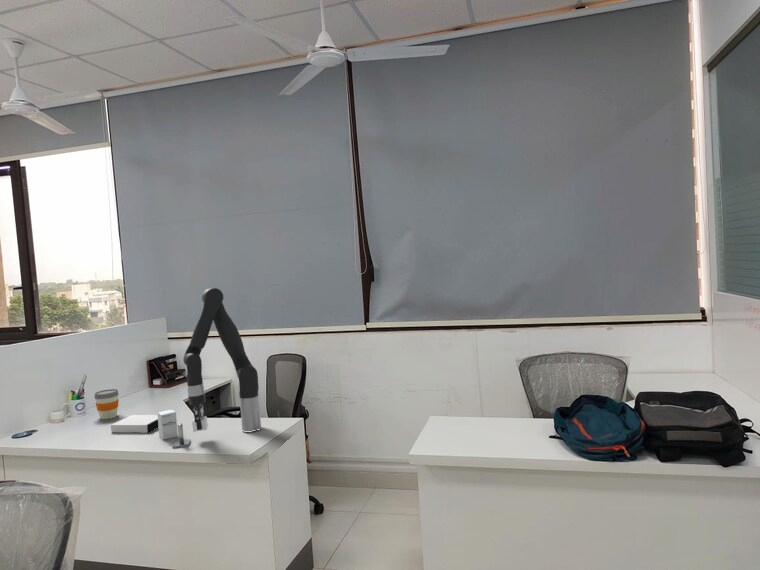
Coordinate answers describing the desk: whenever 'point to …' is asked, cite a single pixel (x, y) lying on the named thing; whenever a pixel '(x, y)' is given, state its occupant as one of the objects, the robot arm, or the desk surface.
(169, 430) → the supplement box
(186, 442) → the grey peg stand
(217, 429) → the desk surface
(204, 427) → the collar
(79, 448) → the desk surface
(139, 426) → the disc drive
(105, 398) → the reusable coffee cup
